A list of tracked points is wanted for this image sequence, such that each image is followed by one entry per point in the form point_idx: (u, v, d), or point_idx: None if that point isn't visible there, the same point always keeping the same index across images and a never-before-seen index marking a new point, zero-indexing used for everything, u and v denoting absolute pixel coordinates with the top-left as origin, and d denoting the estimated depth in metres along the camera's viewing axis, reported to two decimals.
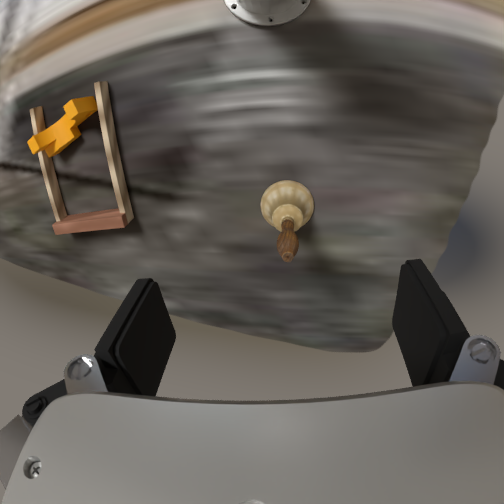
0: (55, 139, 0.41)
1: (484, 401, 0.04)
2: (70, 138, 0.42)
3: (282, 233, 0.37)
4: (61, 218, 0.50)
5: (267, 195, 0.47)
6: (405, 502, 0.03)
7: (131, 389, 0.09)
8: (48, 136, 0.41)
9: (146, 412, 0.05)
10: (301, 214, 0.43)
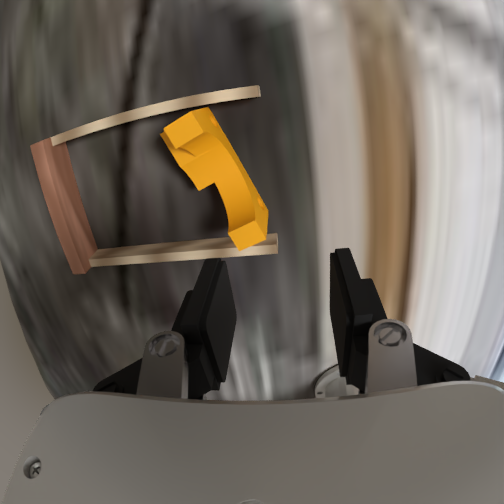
0: (194, 155, 0.26)
1: (484, 401, 0.04)
2: (196, 182, 0.28)
3: None
4: (57, 144, 0.27)
5: None
6: (405, 502, 0.03)
7: (210, 366, 0.09)
8: (201, 145, 0.25)
9: (146, 412, 0.05)
10: None
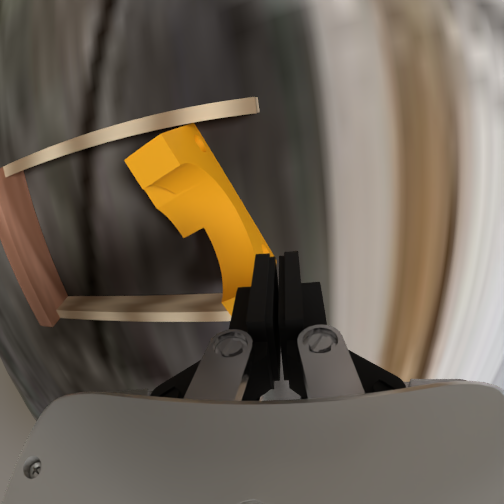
0: (174, 193, 0.19)
1: (484, 401, 0.04)
2: (179, 226, 0.21)
3: None
4: (11, 174, 0.20)
5: None
6: (405, 502, 0.03)
7: (270, 364, 0.09)
8: (181, 180, 0.18)
9: (146, 412, 0.05)
10: None
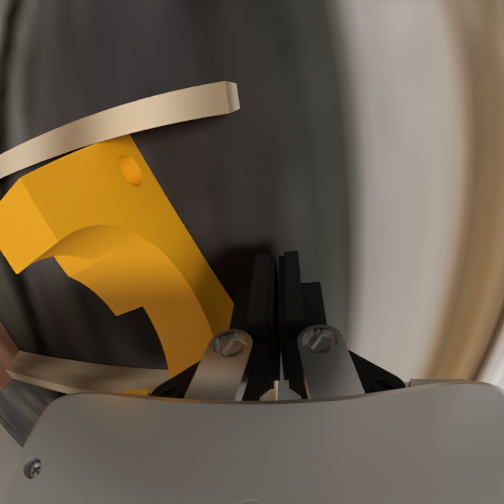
0: (87, 259, 0.11)
1: (484, 401, 0.04)
2: (108, 300, 0.13)
3: None
4: None
5: None
6: (405, 502, 0.03)
7: (270, 364, 0.09)
8: (90, 244, 0.09)
9: (146, 412, 0.05)
10: None
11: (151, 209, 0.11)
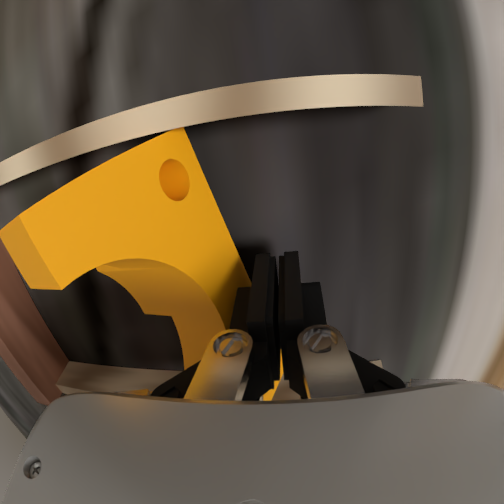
0: (115, 267, 0.10)
1: (484, 401, 0.04)
2: (138, 299, 0.13)
3: None
4: None
5: None
6: (405, 502, 0.03)
7: (270, 364, 0.09)
8: (115, 263, 0.09)
9: (146, 412, 0.05)
10: None
11: (193, 228, 0.10)
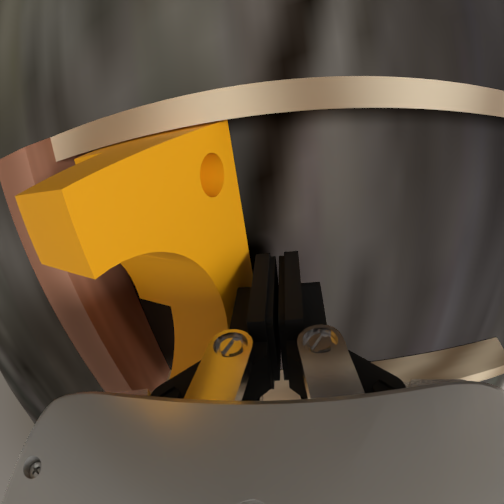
0: None
1: (484, 401, 0.04)
2: (137, 283, 0.12)
3: None
4: None
5: None
6: (405, 502, 0.03)
7: (270, 364, 0.09)
8: None
9: (146, 412, 0.05)
10: None
11: (219, 227, 0.10)
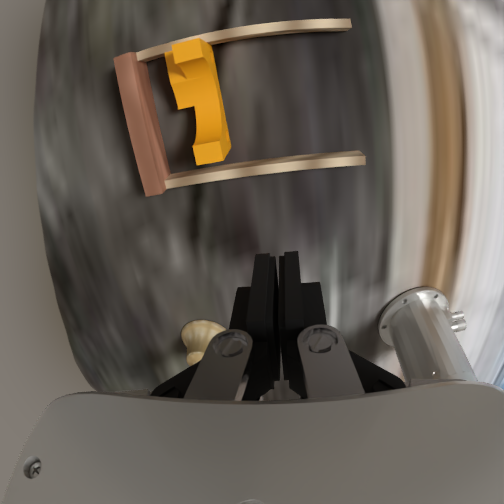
0: (186, 77, 0.27)
1: (484, 401, 0.04)
2: (179, 101, 0.29)
3: None
4: (142, 60, 0.27)
5: (214, 328, 0.47)
6: (405, 502, 0.03)
7: (270, 364, 0.09)
8: (195, 70, 0.26)
9: (146, 412, 0.05)
10: None
11: (214, 71, 0.28)
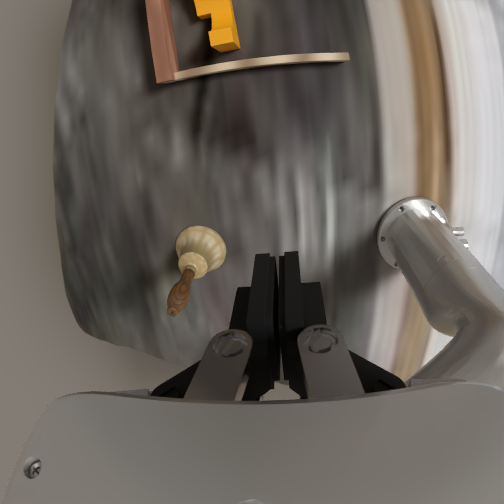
0: None
1: (484, 401, 0.04)
2: (198, 10, 0.30)
3: (187, 289, 0.38)
4: None
5: (209, 234, 0.47)
6: (405, 502, 0.03)
7: (270, 364, 0.09)
8: None
9: (146, 412, 0.05)
10: (199, 277, 0.46)
11: None
